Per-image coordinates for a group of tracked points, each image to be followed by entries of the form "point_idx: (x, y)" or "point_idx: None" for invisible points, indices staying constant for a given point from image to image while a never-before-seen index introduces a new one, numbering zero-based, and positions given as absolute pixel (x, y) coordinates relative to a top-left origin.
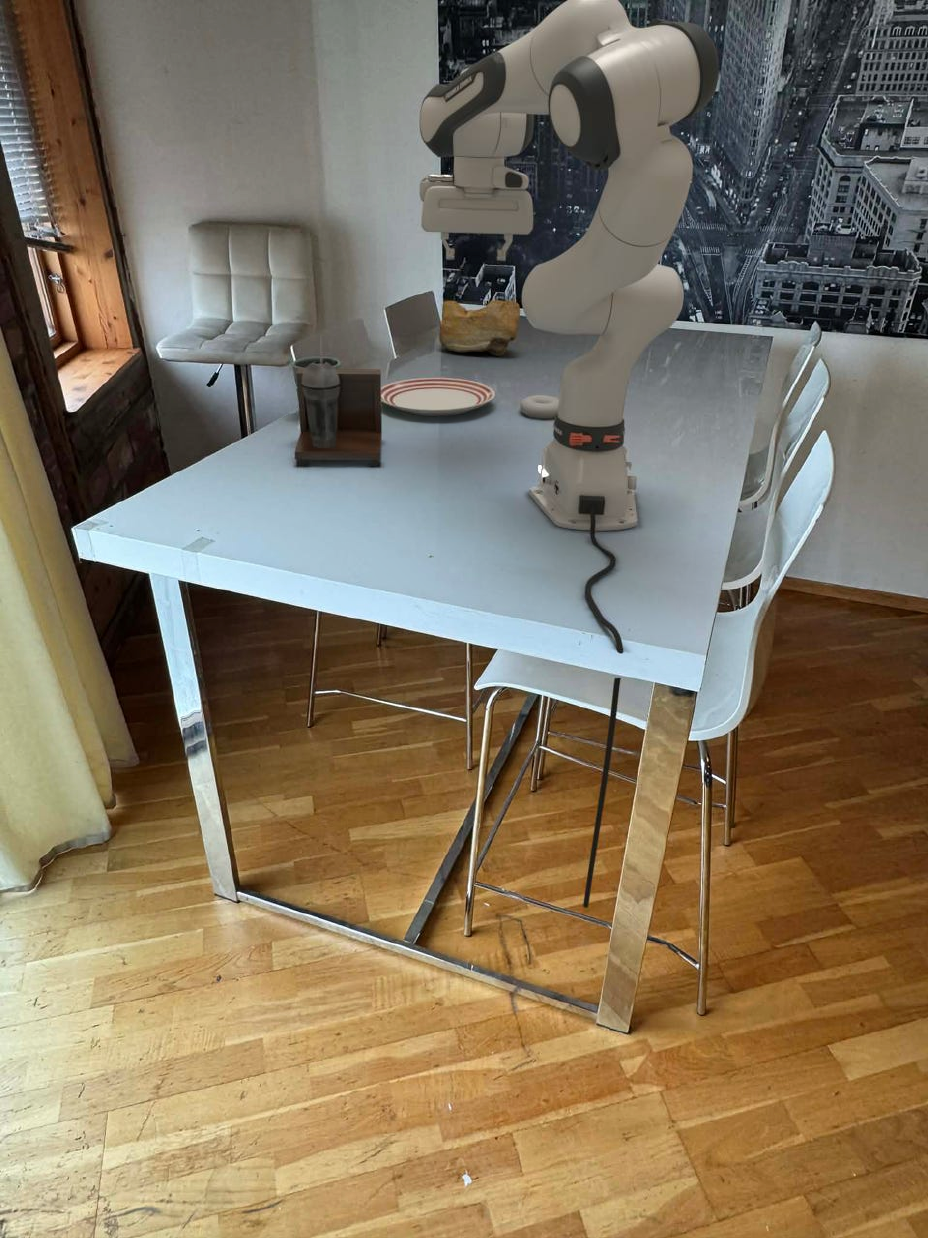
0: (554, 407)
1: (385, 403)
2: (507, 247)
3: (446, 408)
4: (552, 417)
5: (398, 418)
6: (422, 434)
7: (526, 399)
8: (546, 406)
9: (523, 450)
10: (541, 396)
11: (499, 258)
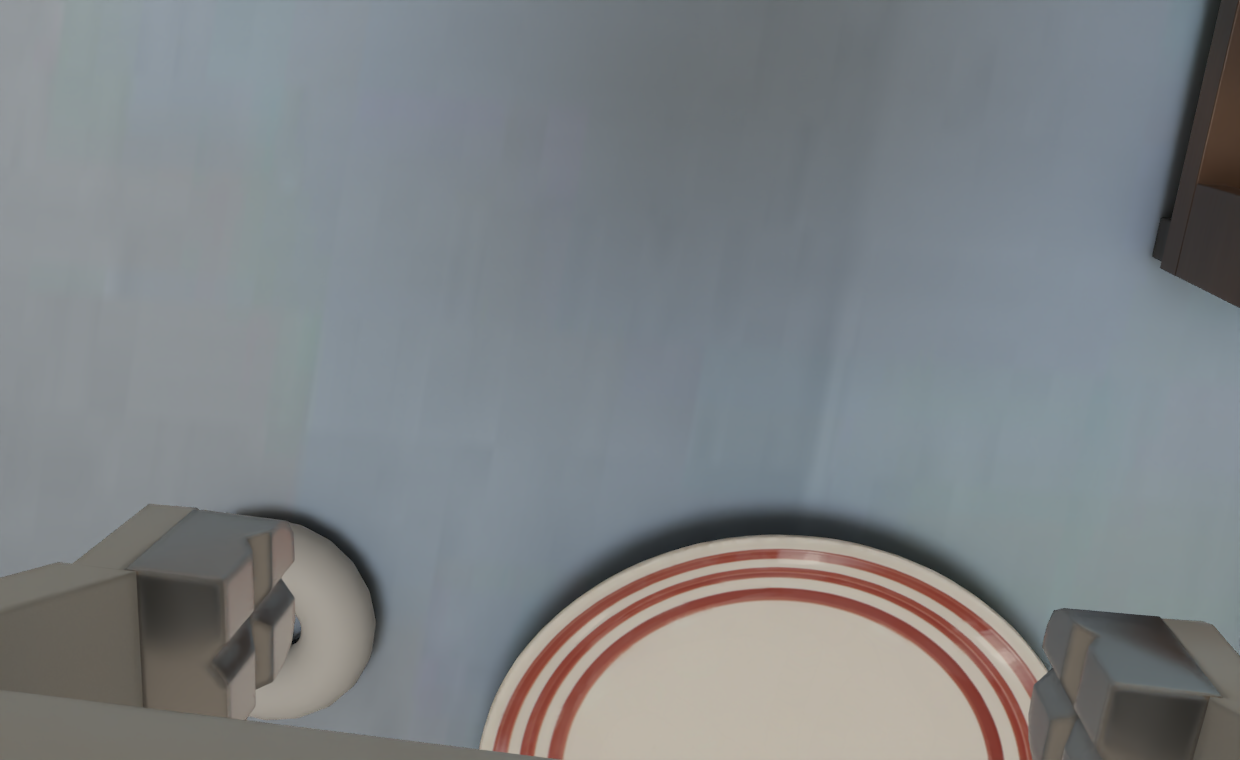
0: None
1: None
2: (9, 577)
3: (739, 665)
4: None
5: (990, 601)
6: (915, 354)
7: (333, 648)
8: None
9: (451, 75)
10: None
11: (250, 520)
